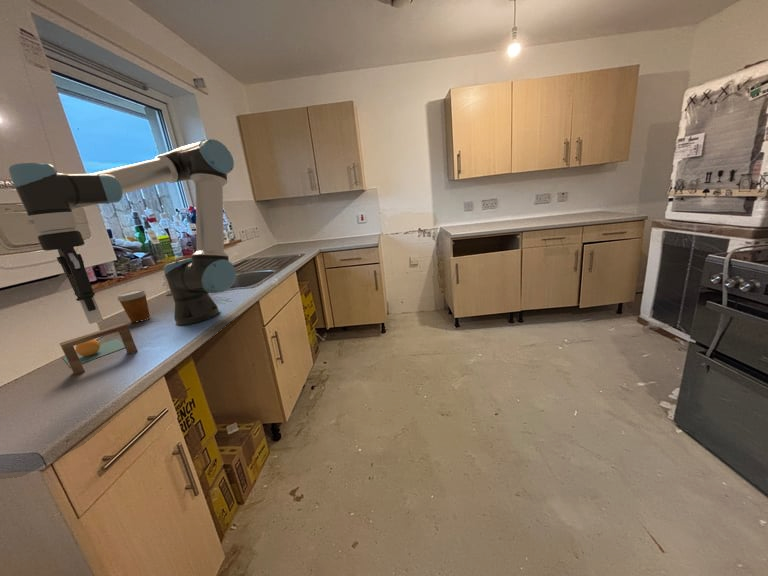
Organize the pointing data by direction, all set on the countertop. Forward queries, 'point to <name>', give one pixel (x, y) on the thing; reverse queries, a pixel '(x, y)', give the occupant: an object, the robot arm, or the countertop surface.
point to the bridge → (69, 344)
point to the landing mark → (102, 351)
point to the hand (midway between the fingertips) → (96, 321)
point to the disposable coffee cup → (135, 305)
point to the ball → (88, 348)
